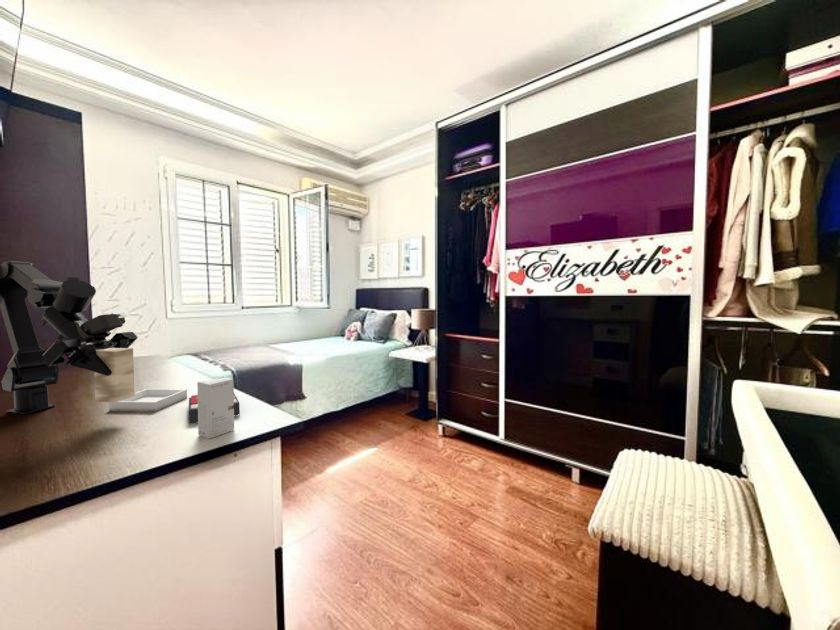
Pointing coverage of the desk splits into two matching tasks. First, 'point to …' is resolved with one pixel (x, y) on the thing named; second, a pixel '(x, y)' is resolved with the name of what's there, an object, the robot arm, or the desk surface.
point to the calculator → (194, 408)
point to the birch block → (115, 375)
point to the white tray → (149, 400)
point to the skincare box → (215, 407)
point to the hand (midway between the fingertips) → (120, 371)
